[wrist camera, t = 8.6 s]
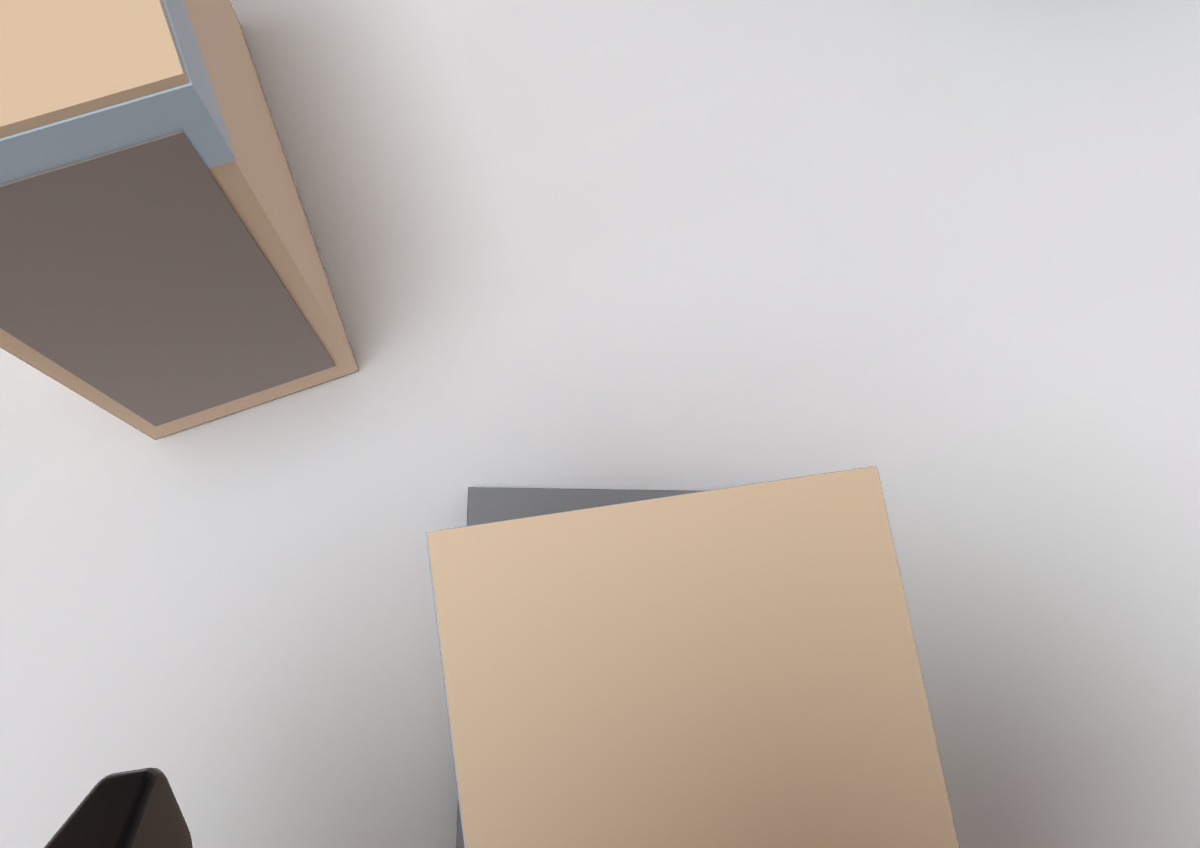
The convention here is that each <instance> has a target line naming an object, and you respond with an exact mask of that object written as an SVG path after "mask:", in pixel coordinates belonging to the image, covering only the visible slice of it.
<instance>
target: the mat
mask: <svg viewBox="0 0 1200 848" xmlns="http://www.w3.org/2000/svg"><path fill="white" fill-rule="evenodd" d="M696 492H703V491H679V490H611V489H542V488H474V487H468V509H467V526H472V525H479V524H486V523H493V522H499V521H506V520H513V519H520V518H527V517H533V516H540V515H547V514H554V513H560V512H567V511H574V510H581V509H588V508H594V507H601V506H608V505H615V504H621V503H628V502H635V501H642V500H648V499H655V498H662V497H669V496H676V495H682V494H689V493H696ZM456 848H464V840H463V832H462V824H461V815H460V807H459V799H458V816H457V847H456Z"/></svg>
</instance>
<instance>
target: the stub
mask: <svg viewBox="0 0 1200 848" xmlns="http://www.w3.org/2000/svg"><path fill="white" fill-rule="evenodd" d="M426 538H427V547H428V555H429V563H430V571H431V579H432V587H433V595H434V604H435V612H436V620H437V628H438V636H439V644H440V653H441V661H442V669H443V677H444V685H445V693H446V701H447V710H448V718H449V726H450V734H451V742H452V750H453V758H454V767H455V775H456V783H457V791H458V799H459V807H460V815H461V824H462V832H463V840H464V848H959V844H958V840H957V835H956V831H955V826H954V821H953V817H952V812H951V807H950V803H949V798H948V793H947V789H946V784H945V779H944V775H943V770H942V766H941V761H940V756H939V752H938V747H937V742H936V738H935V733H934V728H933V724H932V719H931V715H930V710H929V705H928V701H927V696H926V691H925V687H924V682H923V677H922V673H921V668H920V664H919V659H918V654H917V650H916V645H915V640H914V636H913V631H912V626H911V622H910V617H909V613H908V608H907V603H906V599H905V594H904V589H903V585H902V580H901V575H900V571H899V566H898V561H897V557H896V552H895V548H894V543H893V538H892V534H891V529H890V524H889V520H888V515H887V510H886V506H885V501H884V497H883V492H882V487H881V483H880V478H879V473H878V469H877V466H874V467H873V466H872V467H865V468H858V469H852V470H845V471H838V472H831V473H825V474H818V475H811V476H804V477H797V478H791V479H784V480H777V481H770V482H764V483H757V484H750V485H743V486H736V487H730V488H723V489H716V490H709V491H703V492H696V493H689V494H682V495H676V496H669V497H662V498H655V499H648V500H642V501H635V502H628V503H621V504H615V505H608V506H601V507H594V508H588V509H581V510H574V511H567V512H560V513H554V514H547V515H540V516H533V517H527V518H520V519H513V520H506V521H499V522H493V523H486V524H479V525H472V526H466V527H459V528H452V529H445V530H439V531H432V532H426Z"/></svg>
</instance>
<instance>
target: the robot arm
mask: <svg viewBox="0 0 1200 848" xmlns="http://www.w3.org/2000/svg"><path fill="white" fill-rule="evenodd" d="M44 848H192V840H191V835H190V832H189V829H188V826H187V824H186V822H185V819H184V817H183V815H182V812H181V810H180V808H179V805H178V803H177V801H176V798H175V796H174V794H173V791H172V789H171V787H170V784H169V782H168V780H167V778H166V776H165V775H164V773H163V772H162V771H161V770H159V769H157V768H145V769H139V770H132V771H126V772H120V773H114V774H110V775H108V776H106V777H104V778H103V779H102V780H101V781H99V782H98V783H97V784H96V785H95V787H94V788H93V789H92V790H91V791H90V793H89V794H88V795H87V796H86V797H85V799H84V800H83V801H82V802H81V804H80V805H79V806H78V807H77V808H76V810H75V811H74V812H73V813H72V814H71V816H70V817H69V818H68V819H67V821H66V822H65V823H64V824H63V825H62V827H61V828H60V829H59V830H58V831H57V833H56V834H55V835H54V836H53V837H52V839H51V840H50V841H49V842H48V844H47V845H46V846H45V847H44Z"/></svg>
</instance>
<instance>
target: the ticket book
mask: <svg viewBox="0 0 1200 848" xmlns="http://www.w3.org/2000/svg"><path fill="white" fill-rule="evenodd" d="M0 347H1V348H2V349H4V350H6V351H7V352H9V353H11V354H12V355H14V356H16V357H17V358H19V359H21V360H22V361H24V362H26V363H27V364H29V365H31V366H32V367H34V368H36V369H37V370H39V371H41V372H42V373H44V374H46V375H47V376H49V377H51V378H52V379H54V380H56V381H57V382H59V383H61V384H62V385H64V386H66V387H68V388H69V389H71V390H73V391H74V392H76V393H78V394H79V395H81V396H83V397H84V398H86V399H88V400H89V401H91V402H93V403H94V404H96V405H98V406H99V407H101V408H103V409H104V410H106V411H108V412H109V413H111V414H113V415H114V416H116V417H118V418H119V419H121V420H123V421H124V422H126V423H128V424H129V425H131V426H133V427H134V428H136V429H138V430H139V431H141V432H143V433H144V434H146V435H148V436H149V437H151V438H153V439H154V440H156V439H159V438H162V437H165V436H167V435H170V434H173V433H176V432H179V431H182V430H185V429H188V428H191V427H194V426H197V425H200V424H203V423H206V422H209V421H212V420H215V419H218V418H221V417H224V416H227V415H230V414H233V413H236V412H239V411H242V410H244V409H247V408H250V407H253V406H256V405H259V404H262V403H265V402H268V401H271V400H274V399H277V398H280V397H283V396H286V395H289V394H292V393H295V392H298V391H301V390H304V389H307V388H310V387H313V386H316V385H318V384H321V383H324V382H327V381H330V380H333V379H336V378H339V377H342V376H345V375H348V374H351V373H354V372H357V371H359V370H358V367H357V364H356V362H355V359H354V356H353V353H352V350H351V347H350V344H349V341H348V338H347V335H346V332H345V329H344V327H343V324H342V321H341V318H340V315H339V312H338V309H337V306H336V303H335V300H334V297H333V294H332V292H331V289H330V286H329V283H328V280H327V277H326V274H325V271H324V268H323V265H322V262H321V259H320V257H319V254H318V251H317V248H316V245H315V242H314V239H313V236H312V233H311V230H310V227H309V224H308V222H307V219H306V216H305V213H304V210H303V207H302V204H301V201H300V198H299V195H298V192H297V189H296V187H295V184H294V181H293V178H292V175H291V172H290V169H289V166H288V163H287V160H286V157H285V154H284V152H283V149H282V146H281V143H280V140H279V137H278V134H277V131H276V128H275V125H274V122H273V119H272V117H271V114H270V111H269V108H268V105H267V102H266V99H265V96H264V93H263V90H262V87H261V84H260V82H259V79H258V76H257V73H256V70H255V67H254V64H253V61H252V58H251V55H250V52H249V49H248V47H247V44H246V41H245V38H244V35H243V32H242V29H241V26H240V23H239V21H238V19H237V16H236V14H235V12H234V10H233V8H232V5H231V3H230V1H229V0H0Z"/></svg>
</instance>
